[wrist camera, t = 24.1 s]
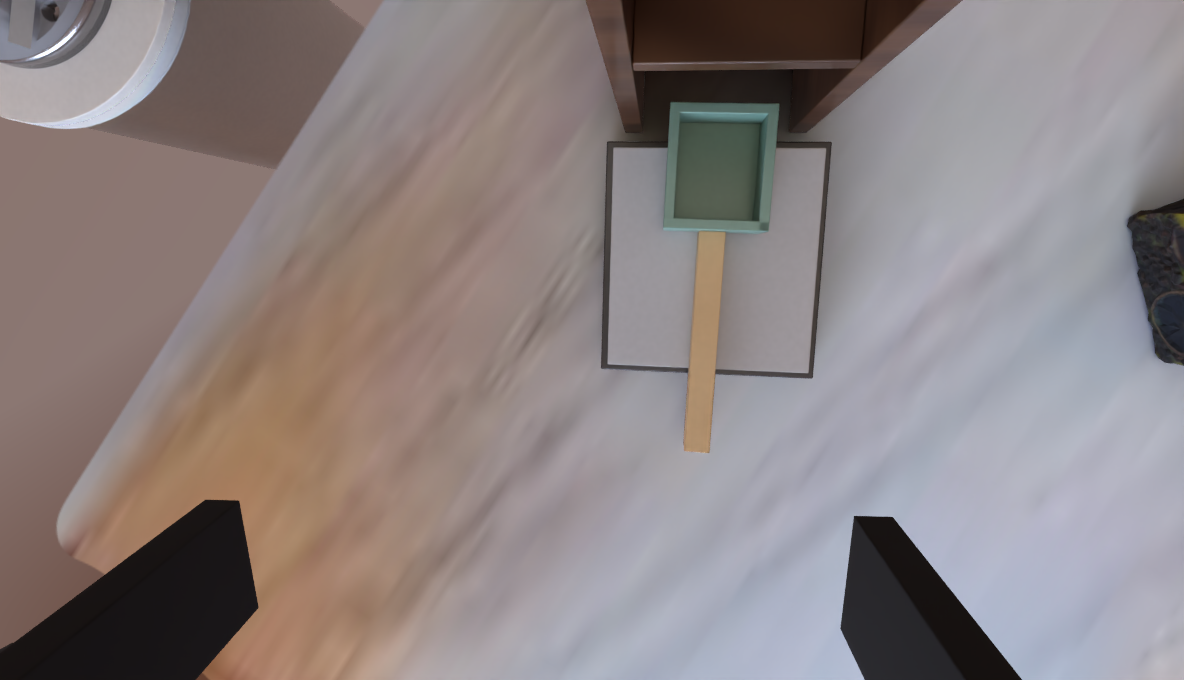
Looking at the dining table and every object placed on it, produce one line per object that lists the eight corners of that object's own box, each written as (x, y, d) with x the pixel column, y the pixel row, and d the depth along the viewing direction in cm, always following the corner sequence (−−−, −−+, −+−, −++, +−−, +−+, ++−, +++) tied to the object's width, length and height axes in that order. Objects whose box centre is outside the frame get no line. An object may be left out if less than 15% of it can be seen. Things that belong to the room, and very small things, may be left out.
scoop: (669, 115, 36) (670, 101, 33) (768, 117, 36) (780, 102, 32) (650, 440, 39) (649, 458, 36) (741, 447, 39) (748, 466, 35)
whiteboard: (610, 143, 40) (605, 134, 37) (822, 143, 38) (836, 133, 35) (604, 362, 42) (599, 371, 39) (804, 371, 41) (816, 381, 38)
